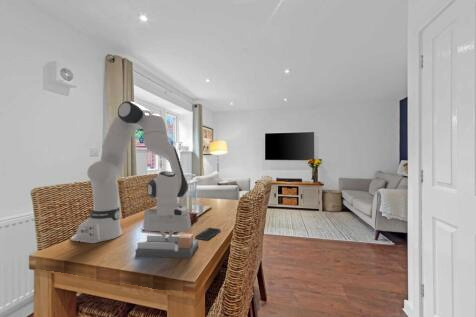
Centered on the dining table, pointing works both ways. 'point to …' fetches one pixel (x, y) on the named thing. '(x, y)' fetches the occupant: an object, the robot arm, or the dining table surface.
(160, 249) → the channel
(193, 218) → the decorative book
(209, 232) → the phone
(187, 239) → the block
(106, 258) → the dining table surface
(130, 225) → the dining table surface
